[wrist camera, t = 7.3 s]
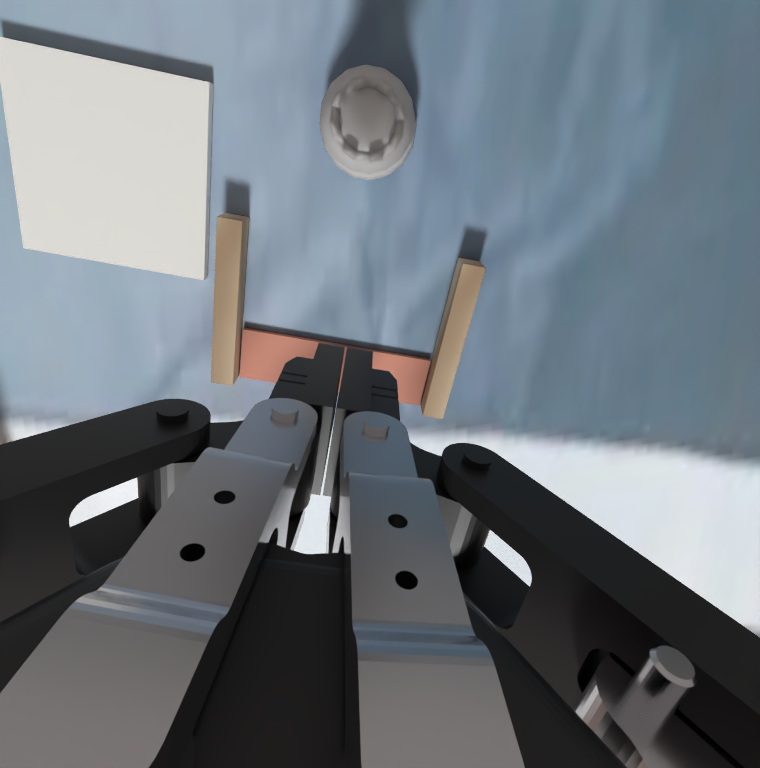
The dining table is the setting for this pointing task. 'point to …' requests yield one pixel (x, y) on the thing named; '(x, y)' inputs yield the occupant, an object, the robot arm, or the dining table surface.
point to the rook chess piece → (367, 122)
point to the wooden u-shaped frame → (273, 350)
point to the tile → (109, 159)
